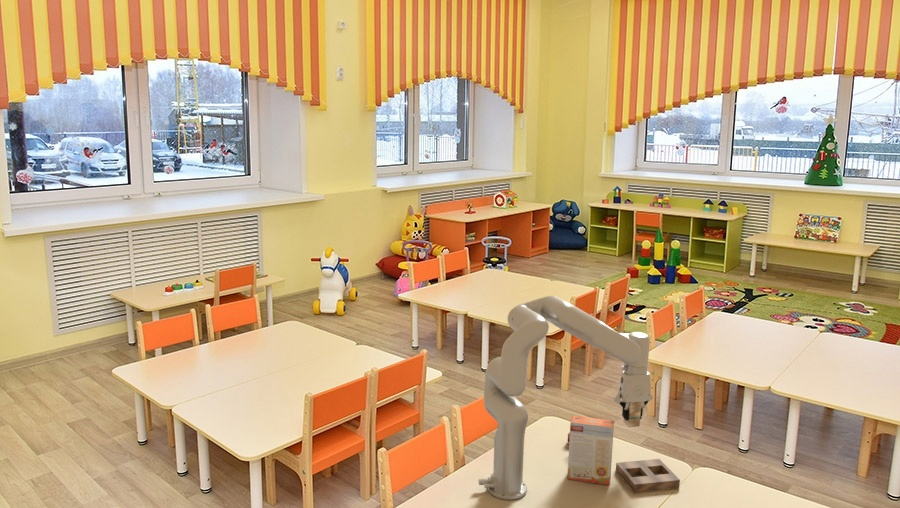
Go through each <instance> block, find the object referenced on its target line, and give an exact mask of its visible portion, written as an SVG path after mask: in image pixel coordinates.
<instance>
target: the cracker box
mask: <svg viewBox="0 0 900 508" xmlns="http://www.w3.org/2000/svg"><path fill="white" fill-rule="evenodd" d="M570 419H571V420H570V426H569V433H570V441H569V444H568V445H569V446H568V461H567V463H568V464H567V480H572V481H578V482H585V483H590V484H591V483H593V484H598V485H605V486H610V484H611V475H612V463H613V462H612V460H613V459H612V458H613V448H614V447H613V444H614V431H615V430H614V427H615V421H614V420H611V419H603V418H594V417H587V416H579V415H572V416H571V418H570Z"/></svg>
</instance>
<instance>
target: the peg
mask: <svg viewBox="0 0 900 508" xmlns="http://www.w3.org/2000/svg"><path fill="white" fill-rule="evenodd" d="M628 409H629V420H628V421H626V420H625V419H624V418H623V423H624V424H625V425H626V427H628V428H633V427H634V428H635V427H640V426H641V425H640V424H641V419H640V414H641V402H633V403H629V407H628Z"/></svg>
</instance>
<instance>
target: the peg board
mask: <svg viewBox="0 0 900 508" xmlns="http://www.w3.org/2000/svg"><path fill="white" fill-rule="evenodd" d="M615 472H616V473H617V475H618V476H619V477H620V478H621V479H622V480H623V481H624V483H625V484H626V485H627V486H628V487H629V489H630V490H631V492H633V493H634V494H636V493H637V492H638V493H645V492H646V491H647V492H654V491H665V490H666V491H667V490H674V489H680V483H681V479H680V478H679V477H677V475H676V474H675V473H674V472H673V471H672V470H671V468H669V467H668V466H667V465H666V464H665V463H664V462H663V461H662V460H661V459H660V458H653V459H644V460H642V459H641V460H634V461H632V460H631V461H622V462H616V463H615Z"/></svg>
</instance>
